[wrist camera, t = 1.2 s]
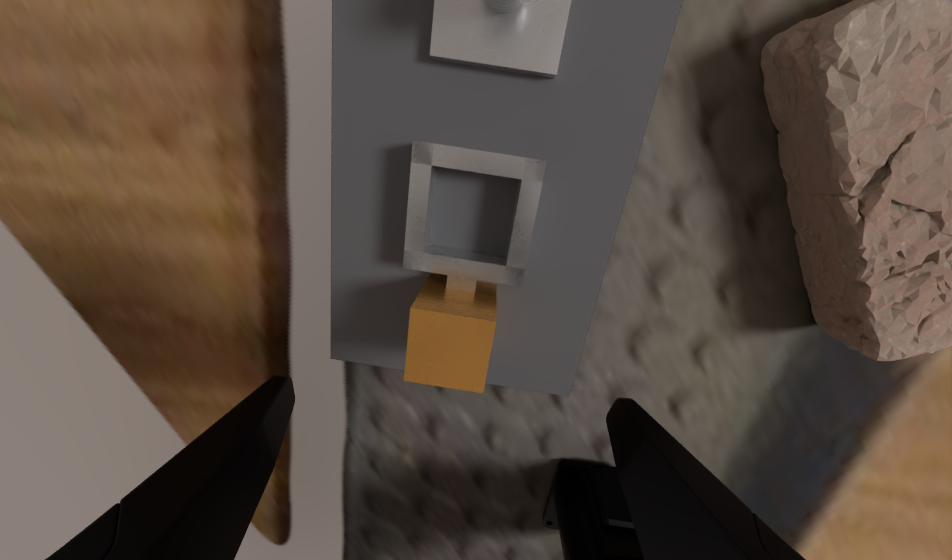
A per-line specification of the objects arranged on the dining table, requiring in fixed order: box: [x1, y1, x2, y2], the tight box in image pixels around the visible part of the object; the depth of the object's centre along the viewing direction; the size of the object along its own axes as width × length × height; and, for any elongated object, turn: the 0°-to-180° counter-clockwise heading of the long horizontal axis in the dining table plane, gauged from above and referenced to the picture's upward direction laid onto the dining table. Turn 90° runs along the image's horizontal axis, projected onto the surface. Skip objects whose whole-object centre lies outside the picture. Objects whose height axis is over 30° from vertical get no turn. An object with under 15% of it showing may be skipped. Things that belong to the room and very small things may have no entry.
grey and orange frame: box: [403, 140, 547, 393], centre depth 18 cm, size 14×6×5 cm, turn 172°
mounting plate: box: [331, 0, 683, 397], centre depth 19 cm, size 26×16×1 cm, turn 172°
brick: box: [760, 0, 952, 361], centre depth 16 cm, size 17×8×5 cm, turn 26°
